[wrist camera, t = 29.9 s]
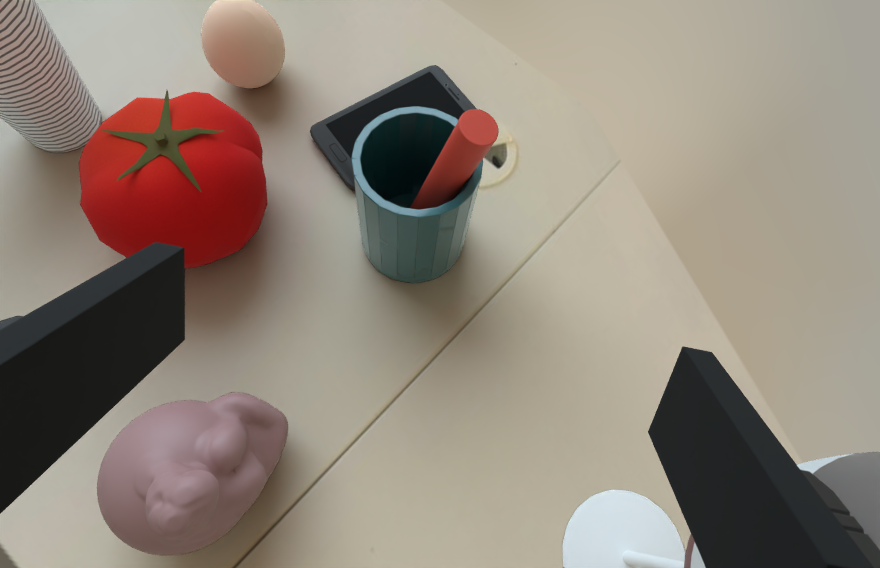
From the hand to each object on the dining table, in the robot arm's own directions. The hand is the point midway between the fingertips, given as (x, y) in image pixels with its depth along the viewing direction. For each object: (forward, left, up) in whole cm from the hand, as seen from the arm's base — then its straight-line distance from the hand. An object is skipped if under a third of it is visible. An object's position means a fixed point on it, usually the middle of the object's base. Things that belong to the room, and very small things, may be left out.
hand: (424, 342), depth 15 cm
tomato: (+23, -9, -27) cm, 37 cm away
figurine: (+11, +7, -27) cm, 30 cm away
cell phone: (+13, -24, -27) cm, 39 cm away
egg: (+27, -23, -27) cm, 45 cm away
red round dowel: (+7, -15, -26) cm, 31 cm away
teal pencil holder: (+7, -15, -27) cm, 32 cm away
